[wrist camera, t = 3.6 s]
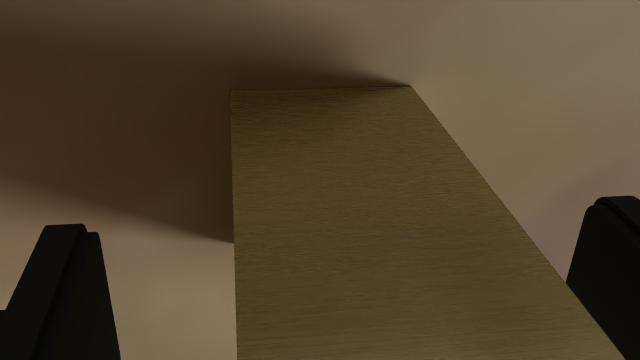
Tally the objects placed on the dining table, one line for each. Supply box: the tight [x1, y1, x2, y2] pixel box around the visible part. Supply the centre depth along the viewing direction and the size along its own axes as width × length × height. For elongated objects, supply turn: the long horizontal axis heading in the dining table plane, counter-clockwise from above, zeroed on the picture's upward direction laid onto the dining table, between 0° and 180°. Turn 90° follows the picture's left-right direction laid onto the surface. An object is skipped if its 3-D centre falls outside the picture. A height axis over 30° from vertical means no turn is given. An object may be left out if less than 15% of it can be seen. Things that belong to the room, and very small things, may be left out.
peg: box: [230, 86, 625, 360], centre depth 10 cm, size 4×4×10 cm
